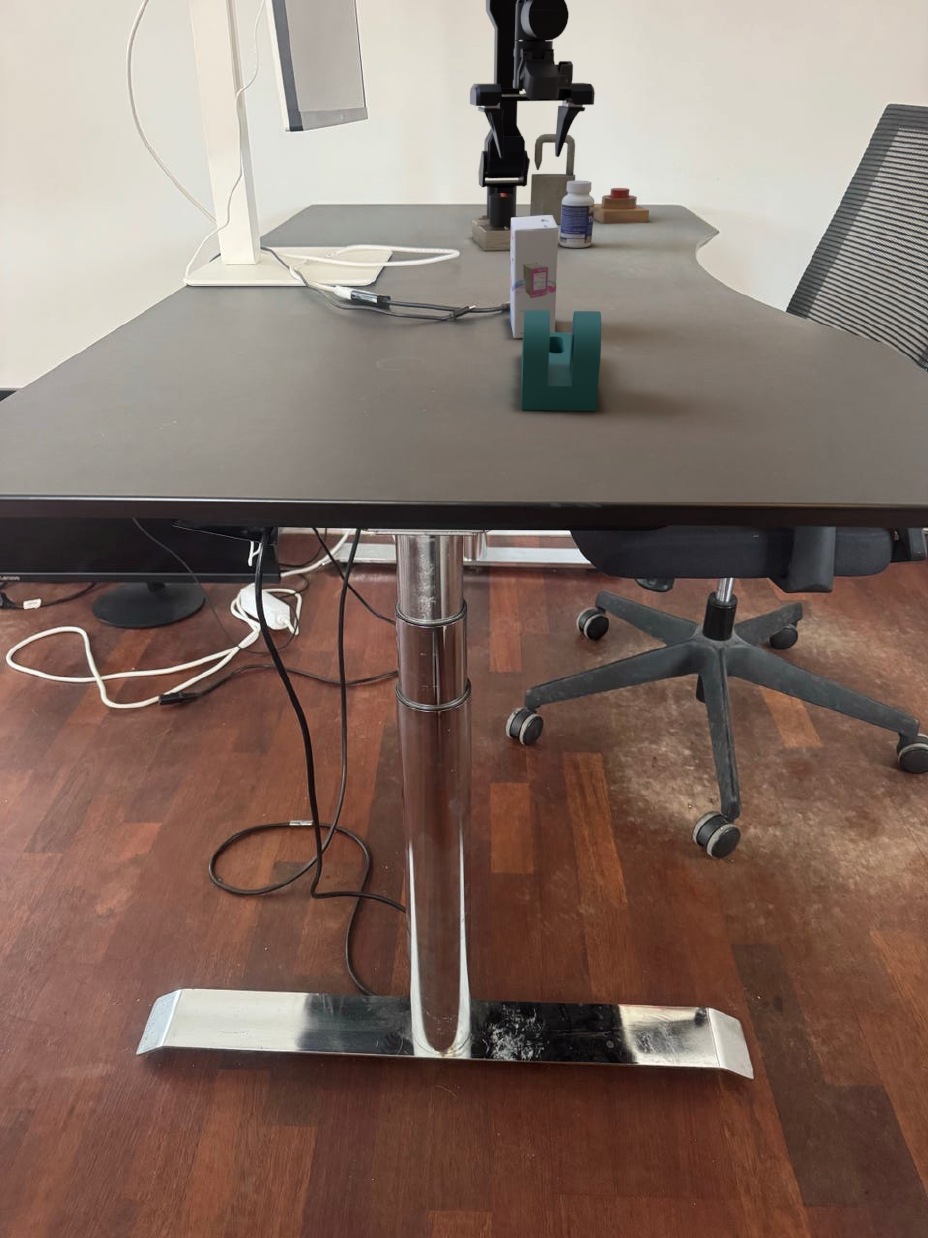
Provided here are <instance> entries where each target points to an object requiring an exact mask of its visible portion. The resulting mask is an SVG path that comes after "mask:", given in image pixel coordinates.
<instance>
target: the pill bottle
mask: <svg viewBox="0 0 928 1238" xmlns="http://www.w3.org/2000/svg"><path fill="white" fill-rule="evenodd" d="M566 189H567V191H568V195H567V196H565V197H564V198H563V199H562V210H561V224H560V228H559V229H560V231H559V245H560V246H561V247H564V248H573V249H579V248H580V249H581V248H588V247H590V246H591V245H592V240H593V228H594V218H593V215H594V204H595V199H594V197H593V196H592V195H591V194H590V193H591V192H592V181H589V180H575V181H568V182H567V188H566Z"/></svg>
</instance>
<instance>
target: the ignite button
mask: <svg viewBox="0 0 928 1238" xmlns="http://www.w3.org/2000/svg"><path fill="white" fill-rule="evenodd" d="M630 191H631V190H630V188H627V187H613V188H612V187H611V188H610V194H609V195H610V198H629V195H630Z"/></svg>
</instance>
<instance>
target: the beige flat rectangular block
mask: <svg viewBox="0 0 928 1238" xmlns="http://www.w3.org/2000/svg"><path fill="white" fill-rule="evenodd" d="M471 223H472V224H471V225H472V226H471V232H472V233H471V239H472V240H473V241H475V242H476V243H477V245H478V246H479V247H481V249H483V250H484V251H485V252H494V251H495V252H496V251H497V252H498V251H510V244H511V226H504V227H500V226H491V225H489V220H484V219H472V220H471Z"/></svg>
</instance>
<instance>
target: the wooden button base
mask: <svg viewBox="0 0 928 1238" xmlns="http://www.w3.org/2000/svg"><path fill="white" fill-rule="evenodd" d="M637 198H638V196H635V195H631V194H629V198H610V194H605V195H603V196H601V203H594V215H593V220H595V221H597V222H599V223H601V224H606V225H607V224H633V223H634V224H636V223H649V217H650V210H649V209H647V208H645V207H643V206H640V205H638V204H637V203H638V201H637V200H638V199H637Z"/></svg>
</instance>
